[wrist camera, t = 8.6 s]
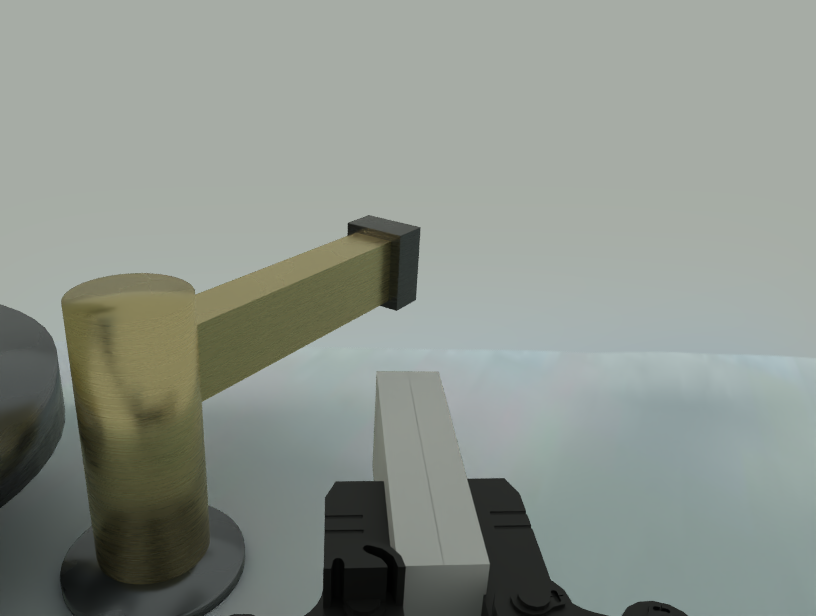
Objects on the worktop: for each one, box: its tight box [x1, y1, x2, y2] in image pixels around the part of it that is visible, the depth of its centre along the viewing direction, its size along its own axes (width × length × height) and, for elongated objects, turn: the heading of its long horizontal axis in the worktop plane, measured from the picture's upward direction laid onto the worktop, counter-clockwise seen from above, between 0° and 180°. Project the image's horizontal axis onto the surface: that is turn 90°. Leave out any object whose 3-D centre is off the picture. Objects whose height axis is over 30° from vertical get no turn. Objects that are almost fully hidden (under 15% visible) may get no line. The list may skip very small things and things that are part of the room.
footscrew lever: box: [61, 215, 420, 584], centre depth 25 cm, size 14×3×8 cm, turn 148°
